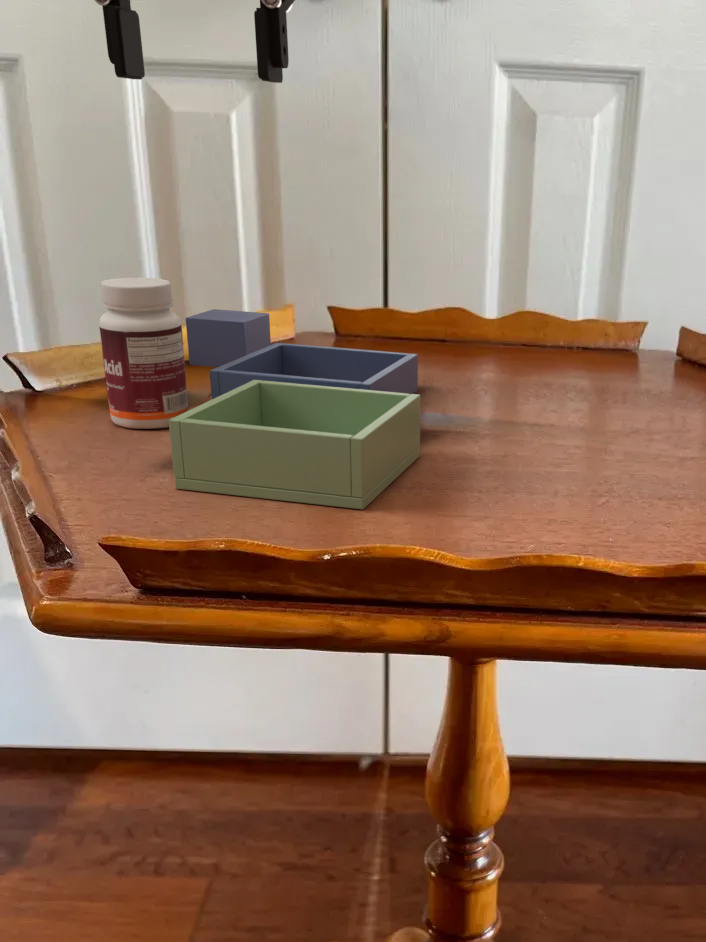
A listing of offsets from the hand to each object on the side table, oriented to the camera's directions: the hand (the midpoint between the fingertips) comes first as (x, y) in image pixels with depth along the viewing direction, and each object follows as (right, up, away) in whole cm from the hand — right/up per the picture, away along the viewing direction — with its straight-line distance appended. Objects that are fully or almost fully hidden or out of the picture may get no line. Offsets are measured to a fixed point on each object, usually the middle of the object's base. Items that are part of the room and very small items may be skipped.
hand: (200, 79), depth 68 cm
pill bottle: (-2, -23, -3) cm, 24 cm away
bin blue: (+8, -23, -1) cm, 24 cm away
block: (0, -17, +9) cm, 20 cm away
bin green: (+9, -28, -12) cm, 31 cm away
